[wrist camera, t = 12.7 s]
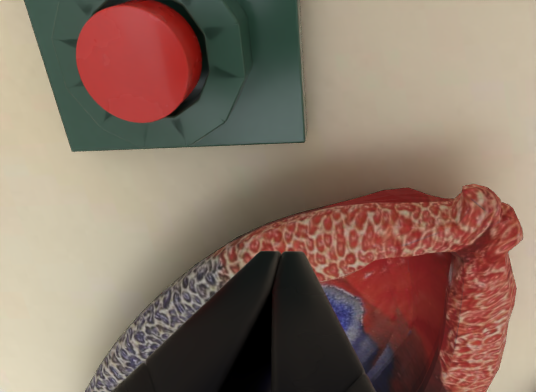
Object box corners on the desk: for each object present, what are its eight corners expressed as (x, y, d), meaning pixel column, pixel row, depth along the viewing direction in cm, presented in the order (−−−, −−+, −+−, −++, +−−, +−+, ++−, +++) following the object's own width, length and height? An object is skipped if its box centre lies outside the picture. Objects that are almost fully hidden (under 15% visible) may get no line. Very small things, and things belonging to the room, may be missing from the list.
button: (192, -6, 15) (176, -1, 13) (209, 104, 16) (197, 121, 15) (87, 4, 15) (60, 10, 14) (114, 109, 17) (93, 125, 15)
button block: (294, -93, 15) (286, -101, 13) (307, 132, 19) (303, 162, 16) (23, -62, 17) (-33, -62, 14) (84, 141, 21) (48, 170, 18)
